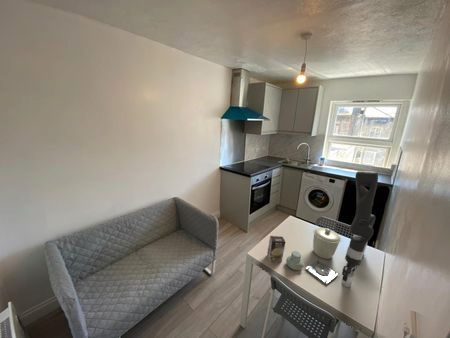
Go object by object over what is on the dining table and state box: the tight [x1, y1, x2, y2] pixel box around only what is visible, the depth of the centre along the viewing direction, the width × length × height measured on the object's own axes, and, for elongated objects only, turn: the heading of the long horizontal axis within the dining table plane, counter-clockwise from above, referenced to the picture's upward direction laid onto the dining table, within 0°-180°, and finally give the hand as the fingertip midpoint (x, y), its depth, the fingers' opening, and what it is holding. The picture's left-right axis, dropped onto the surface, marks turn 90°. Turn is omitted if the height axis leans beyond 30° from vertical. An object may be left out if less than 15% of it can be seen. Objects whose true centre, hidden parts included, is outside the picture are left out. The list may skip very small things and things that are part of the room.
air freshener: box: [285, 250, 304, 271], centre depth 127 cm, size 11×8×10 cm
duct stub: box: [341, 271, 356, 288], centre depth 116 cm, size 6×6×9 cm
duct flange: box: [305, 260, 339, 286], centre depth 124 cm, size 14×14×2 cm
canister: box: [312, 227, 342, 260], centre depth 140 cm, size 18×18×21 cm
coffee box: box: [266, 235, 286, 263], centre depth 132 cm, size 9×6×16 cm
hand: (347, 277), depth 116 cm, fingers open, 8 cm apart
